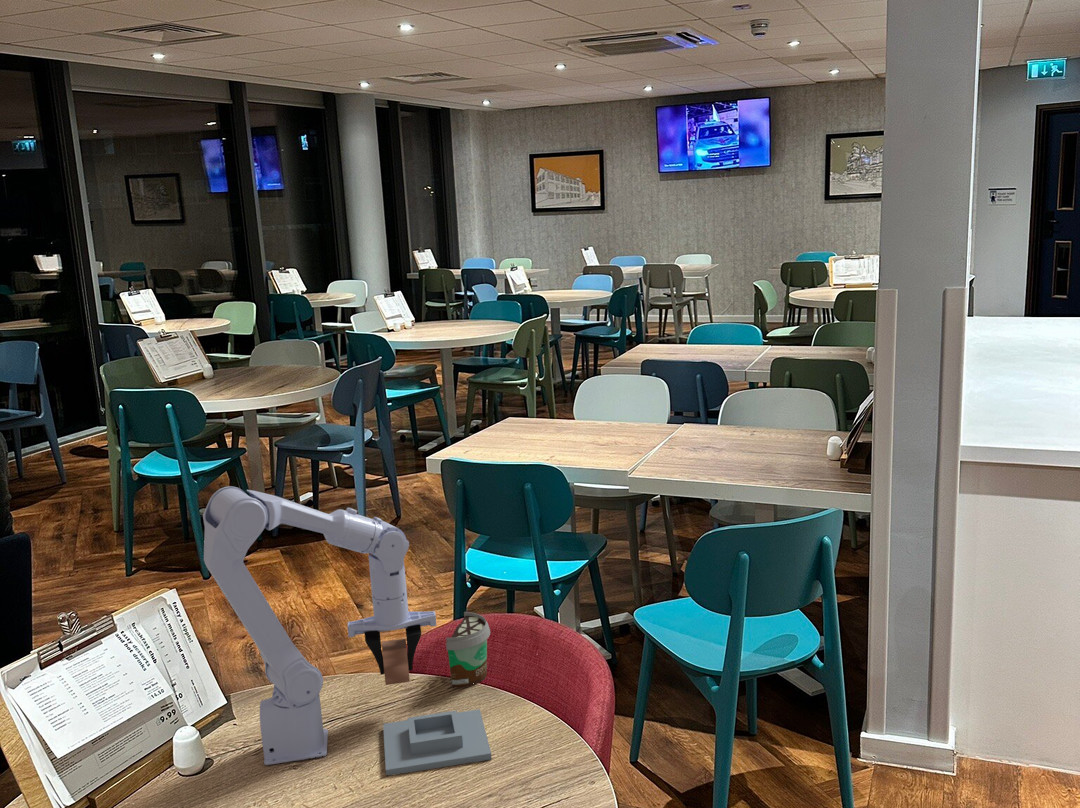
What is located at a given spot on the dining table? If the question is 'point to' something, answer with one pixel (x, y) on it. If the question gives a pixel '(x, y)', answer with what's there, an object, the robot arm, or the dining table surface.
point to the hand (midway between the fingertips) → (396, 669)
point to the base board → (435, 741)
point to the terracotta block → (395, 661)
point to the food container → (468, 651)
